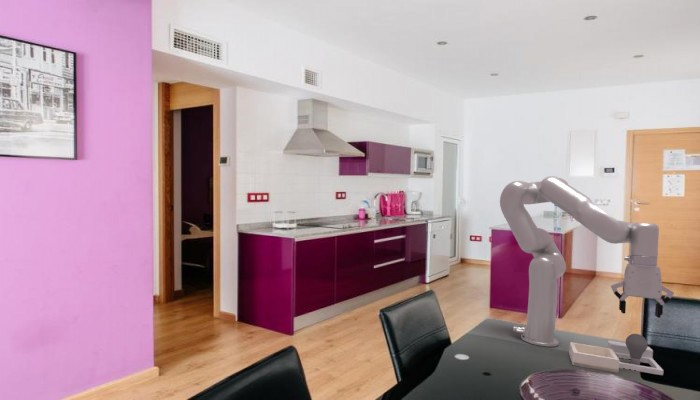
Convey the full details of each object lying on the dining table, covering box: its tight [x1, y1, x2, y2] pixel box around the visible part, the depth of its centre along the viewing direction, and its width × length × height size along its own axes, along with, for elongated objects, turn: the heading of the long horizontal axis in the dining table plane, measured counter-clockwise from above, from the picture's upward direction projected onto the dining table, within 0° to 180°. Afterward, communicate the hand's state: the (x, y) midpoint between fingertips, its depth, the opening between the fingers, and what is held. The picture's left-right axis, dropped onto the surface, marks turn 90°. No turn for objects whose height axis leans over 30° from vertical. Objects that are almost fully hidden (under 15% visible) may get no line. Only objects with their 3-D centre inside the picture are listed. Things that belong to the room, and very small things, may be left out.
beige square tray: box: [568, 341, 620, 374], centre depth 147 cm, size 12×12×4 cm
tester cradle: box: [606, 340, 664, 376], centre depth 150 cm, size 12×17×5 cm
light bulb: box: [625, 333, 649, 366], centre depth 148 cm, size 6×6×10 cm
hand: (640, 314), depth 148 cm, fingers open, 9 cm apart
